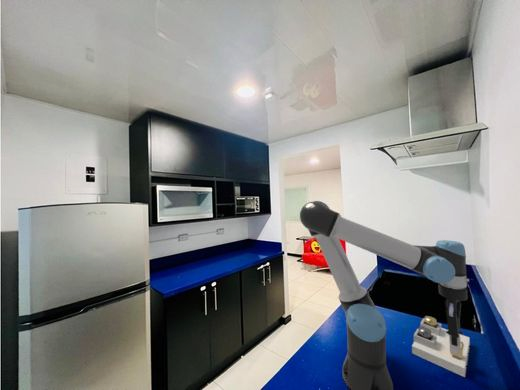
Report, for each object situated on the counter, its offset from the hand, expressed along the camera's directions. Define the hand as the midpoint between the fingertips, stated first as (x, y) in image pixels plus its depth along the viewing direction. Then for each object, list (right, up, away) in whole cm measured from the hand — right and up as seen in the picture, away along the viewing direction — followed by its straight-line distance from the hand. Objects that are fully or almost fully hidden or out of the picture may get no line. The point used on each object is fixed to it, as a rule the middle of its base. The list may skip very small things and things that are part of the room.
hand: (455, 352), depth 72 cm
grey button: (-1, -3, +12) cm, 13 cm away
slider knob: (+5, -4, +5) cm, 8 cm away
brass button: (+8, -3, +20) cm, 22 cm away
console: (+6, -8, +12) cm, 16 cm away
